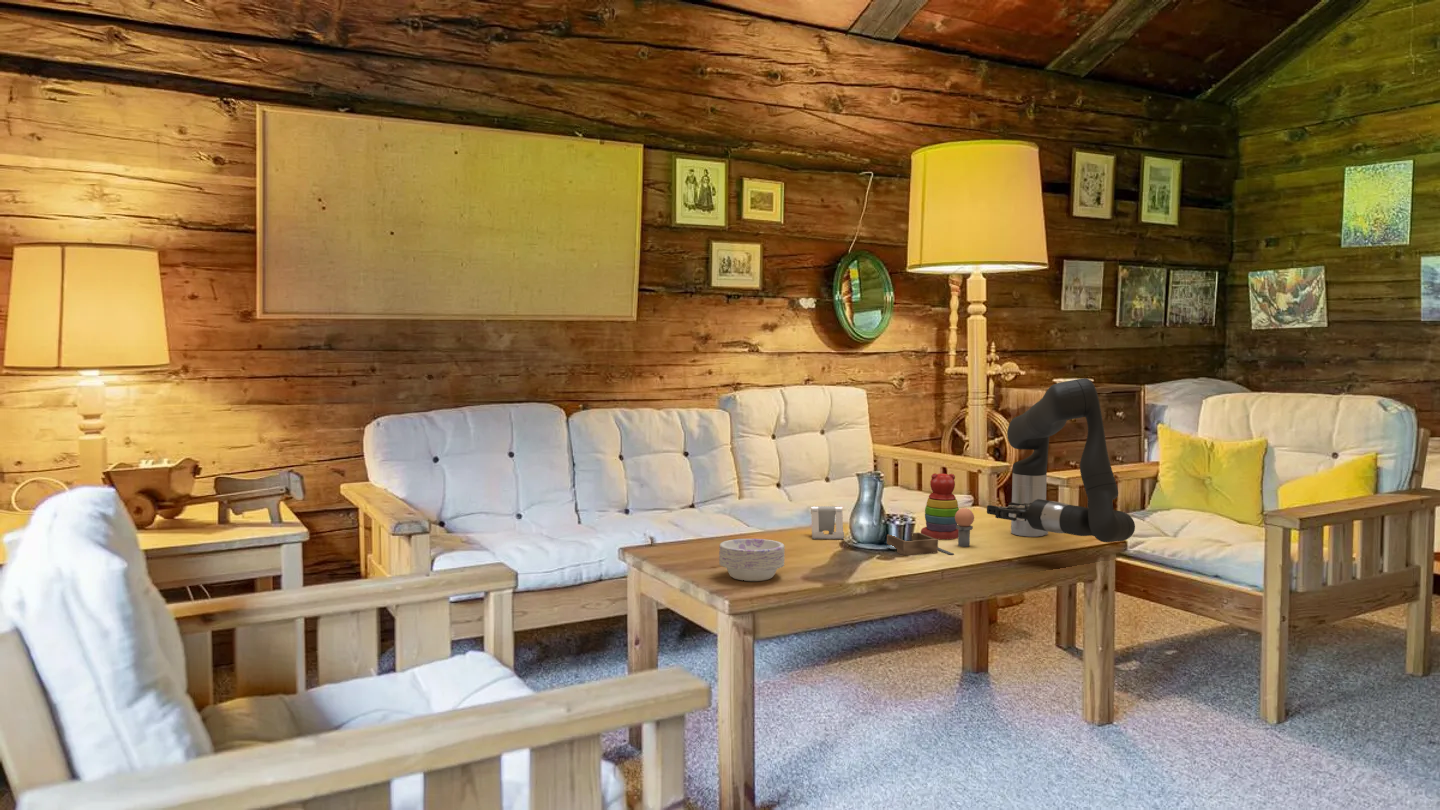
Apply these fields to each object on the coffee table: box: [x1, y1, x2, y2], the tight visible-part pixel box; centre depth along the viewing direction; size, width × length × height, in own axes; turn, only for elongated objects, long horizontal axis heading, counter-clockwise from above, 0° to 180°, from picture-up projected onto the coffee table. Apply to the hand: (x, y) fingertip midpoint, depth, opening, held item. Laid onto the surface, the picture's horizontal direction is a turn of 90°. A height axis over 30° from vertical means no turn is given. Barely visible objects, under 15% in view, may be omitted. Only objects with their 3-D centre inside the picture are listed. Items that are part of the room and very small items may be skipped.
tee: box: [956, 524, 974, 548], centre depth 271 cm, size 4×4×5 cm
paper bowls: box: [718, 538, 786, 582], centre depth 237 cm, size 15×15×8 cm
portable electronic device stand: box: [810, 505, 845, 540], centre depth 282 cm, size 9×8×8 cm
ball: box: [955, 507, 975, 527], centre depth 271 cm, size 5×5×5 cm
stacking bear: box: [920, 472, 960, 541], centre depth 283 cm, size 11×10×18 cm
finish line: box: [938, 547, 955, 556], centre depth 268 cm, size 1×16×1 cm, turn 19°
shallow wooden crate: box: [886, 531, 939, 556], centre depth 266 cm, size 10×10×4 cm
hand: (998, 507), depth 261 cm, fingers open, 8 cm apart
